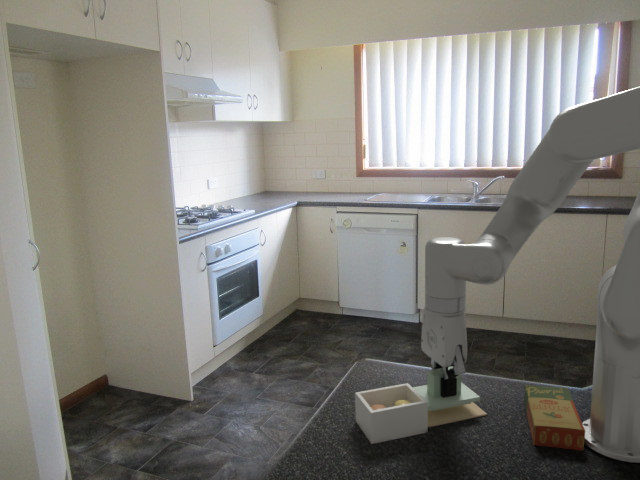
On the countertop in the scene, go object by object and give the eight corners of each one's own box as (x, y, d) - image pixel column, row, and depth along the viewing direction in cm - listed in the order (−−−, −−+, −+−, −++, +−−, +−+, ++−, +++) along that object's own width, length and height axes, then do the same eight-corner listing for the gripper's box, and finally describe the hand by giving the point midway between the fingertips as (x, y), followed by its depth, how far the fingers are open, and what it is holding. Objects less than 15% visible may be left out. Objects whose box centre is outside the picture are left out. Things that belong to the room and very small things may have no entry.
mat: (459, 392, 111) (459, 390, 111) (486, 415, 102) (486, 413, 102) (402, 402, 108) (402, 401, 108) (426, 427, 98) (426, 426, 98)
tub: (408, 411, 104) (408, 383, 103) (427, 432, 97) (427, 402, 96) (355, 421, 101) (355, 392, 100) (371, 444, 94) (371, 413, 92)
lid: (457, 387, 110) (458, 358, 108) (479, 405, 102) (480, 375, 101) (409, 396, 107) (409, 366, 105) (428, 415, 99) (428, 384, 98)
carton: (532, 446, 92) (533, 424, 91) (522, 402, 107) (523, 382, 106) (584, 452, 90) (586, 429, 89) (567, 406, 105) (568, 386, 104)
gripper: (408, 293, 107) (408, 378, 111) (449, 318, 92) (448, 415, 95) (441, 289, 109) (440, 372, 113) (487, 313, 94) (484, 408, 97)
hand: (444, 391), depth 104 cm, fingers closed on lid, 2 cm apart
